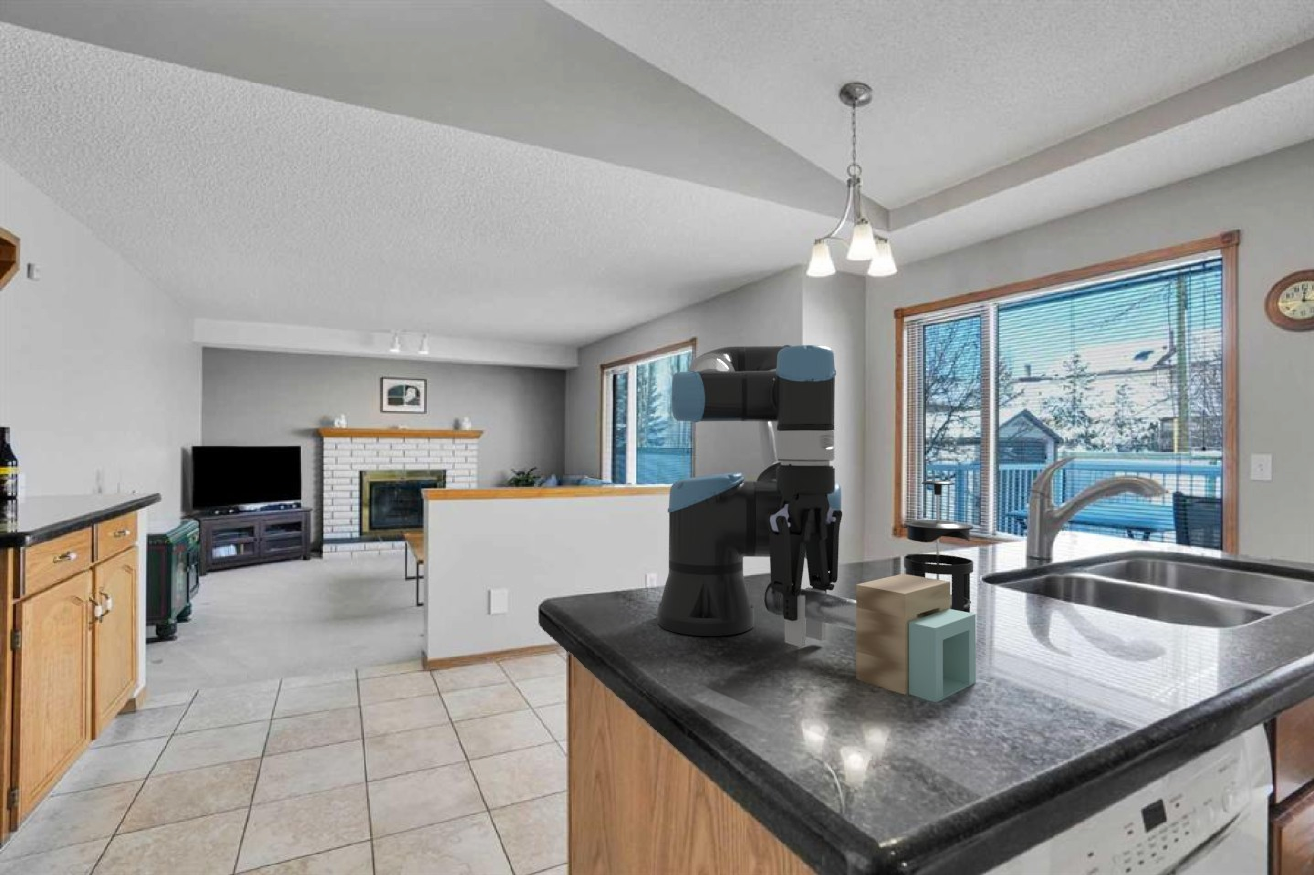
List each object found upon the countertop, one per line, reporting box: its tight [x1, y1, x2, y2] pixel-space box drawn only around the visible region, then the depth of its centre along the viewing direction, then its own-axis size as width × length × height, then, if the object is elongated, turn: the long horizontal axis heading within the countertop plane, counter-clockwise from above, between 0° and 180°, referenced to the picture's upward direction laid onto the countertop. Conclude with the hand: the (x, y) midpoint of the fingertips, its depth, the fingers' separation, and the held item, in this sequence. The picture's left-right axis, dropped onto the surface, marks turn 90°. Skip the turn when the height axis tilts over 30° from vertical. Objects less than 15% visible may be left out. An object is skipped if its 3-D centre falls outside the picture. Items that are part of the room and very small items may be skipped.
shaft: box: [763, 582, 926, 632], centre depth 82 cm, size 21×5×5 cm, turn 40°
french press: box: [903, 480, 974, 613], centre depth 92 cm, size 12×9×23 cm
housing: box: [855, 573, 951, 696], centre depth 75 cm, size 6×10×12 cm, turn 130°
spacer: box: [908, 609, 977, 703], centre depth 72 cm, size 3×9×9 cm, turn 130°
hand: (805, 640), depth 86 cm, fingers closed on shaft, 4 cm apart
